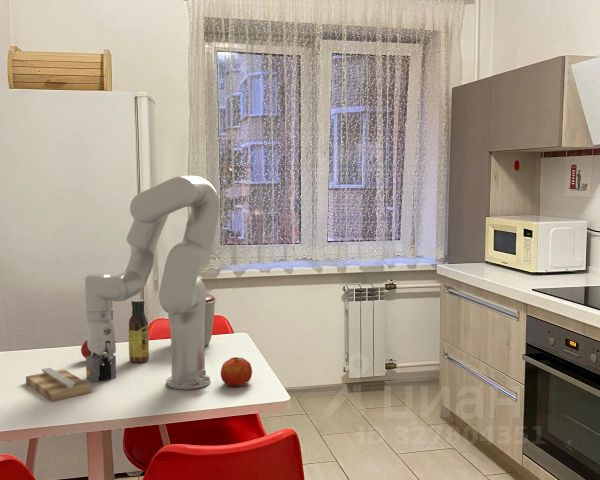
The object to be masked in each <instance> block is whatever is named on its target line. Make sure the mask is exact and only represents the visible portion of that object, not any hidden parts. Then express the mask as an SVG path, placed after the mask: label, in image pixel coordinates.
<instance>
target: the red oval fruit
mask: <svg viewBox="0 0 600 480" xmlns="http://www.w3.org/2000/svg"><path fill="white" fill-rule="evenodd" d="M80 353H81V355H82V356H83V358H85V359H86V356H91V354H90V350H89V349H88V345H87V340H85V341H84V342H83V344H82V345H81V348H80Z"/></svg>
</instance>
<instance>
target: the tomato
mask: <svg viewBox="0 0 600 480" xmlns="http://www.w3.org/2000/svg"><path fill="white" fill-rule="evenodd" d="M252 376H253V369H252V365H251V363H250V362H249V361H248V360H247V359H245V358H243V357H231V358H229V359H228V360H226V361H224V362H223V364H222V365H221V369H220V377H221V380H222V382H224V384H225V385H226V386H230V387H240V386H244V385H245V384H247V383H249V382H250V380H251V378H252Z"/></svg>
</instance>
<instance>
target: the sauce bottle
mask: <svg viewBox="0 0 600 480" xmlns="http://www.w3.org/2000/svg"><path fill="white" fill-rule="evenodd" d="M131 308H132V309H131V310H132V311H131V314H132V315H131V316H130V318H129V320H128V356H129V362H131V363H146V362H147V361H149V355H150V353H149V352H150V348H149V345H150V342H149V337H150V335H149V322H148V320H147V317H146V314H145V300H144V299H133V300H131Z"/></svg>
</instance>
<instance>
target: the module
mask: <svg viewBox="0 0 600 480" xmlns="http://www.w3.org/2000/svg"><path fill="white" fill-rule="evenodd" d="M104 354H107V353H106V352H104V353H103V355H104ZM113 356H114V357H113V359H112V361H111V377H109V378H108V379H117V359H116V355H115V354H113ZM106 357H107V356H105V357H103V359H105V358H106ZM100 365H101V361H100V355H91V356H86V358H85V368H86V370H85V371H86V372H85V373H86V374H85V375H86V379H87V380H88V381H90V382H92V383H98V382H99V380H100V379H99V378H100Z"/></svg>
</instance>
